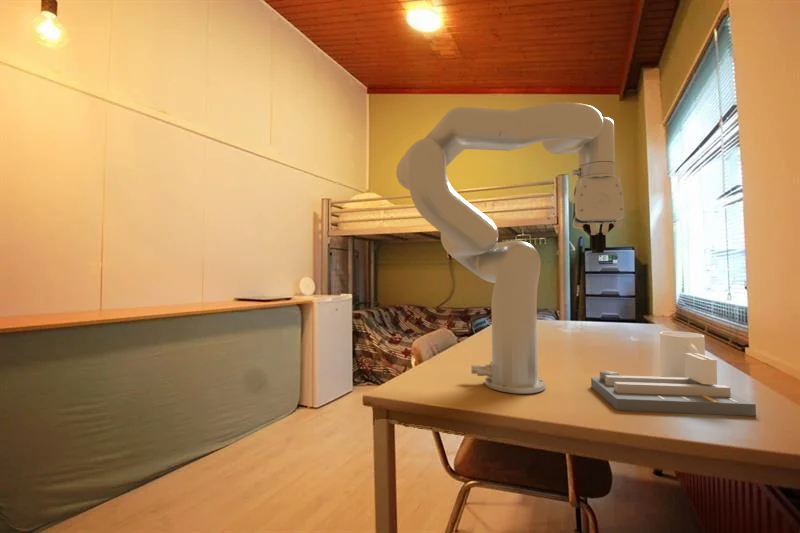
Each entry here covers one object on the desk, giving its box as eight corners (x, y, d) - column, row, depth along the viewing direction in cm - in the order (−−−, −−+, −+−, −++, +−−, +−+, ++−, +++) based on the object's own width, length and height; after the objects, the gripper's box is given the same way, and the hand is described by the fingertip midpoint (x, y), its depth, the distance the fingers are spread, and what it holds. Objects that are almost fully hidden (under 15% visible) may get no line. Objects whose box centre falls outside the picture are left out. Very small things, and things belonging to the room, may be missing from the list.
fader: (700, 393, 71) (700, 358, 72) (683, 385, 77) (683, 352, 77) (719, 394, 71) (718, 359, 71) (700, 385, 76) (699, 352, 77)
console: (617, 410, 70) (616, 389, 70) (591, 386, 84) (591, 369, 84) (755, 416, 66) (755, 394, 66) (705, 390, 80) (704, 372, 80)
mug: (721, 391, 80) (720, 340, 80) (674, 387, 82) (673, 339, 83) (695, 375, 92) (694, 332, 92) (655, 373, 94) (654, 330, 94)
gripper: (566, 171, 88) (568, 252, 88) (638, 168, 86) (640, 251, 85) (558, 179, 95) (559, 254, 95) (624, 176, 93) (625, 253, 93)
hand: (597, 252), depth 90 cm, fingers closed
